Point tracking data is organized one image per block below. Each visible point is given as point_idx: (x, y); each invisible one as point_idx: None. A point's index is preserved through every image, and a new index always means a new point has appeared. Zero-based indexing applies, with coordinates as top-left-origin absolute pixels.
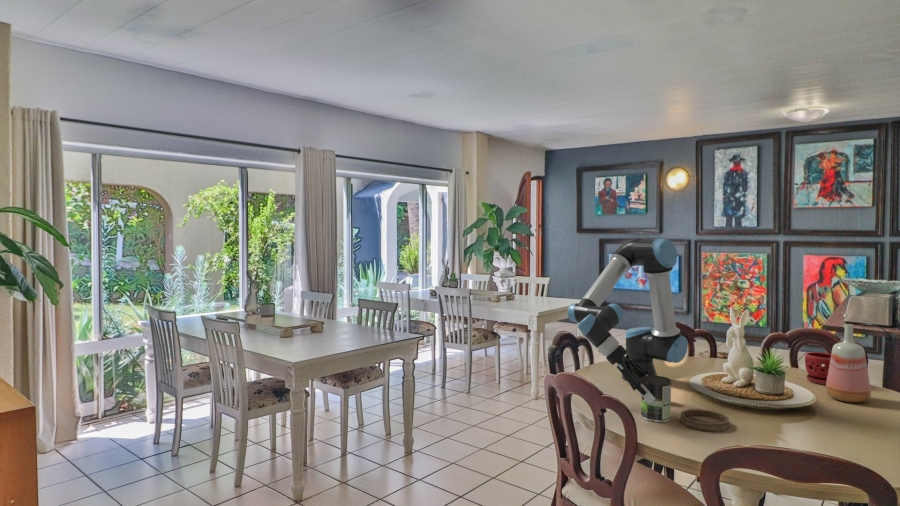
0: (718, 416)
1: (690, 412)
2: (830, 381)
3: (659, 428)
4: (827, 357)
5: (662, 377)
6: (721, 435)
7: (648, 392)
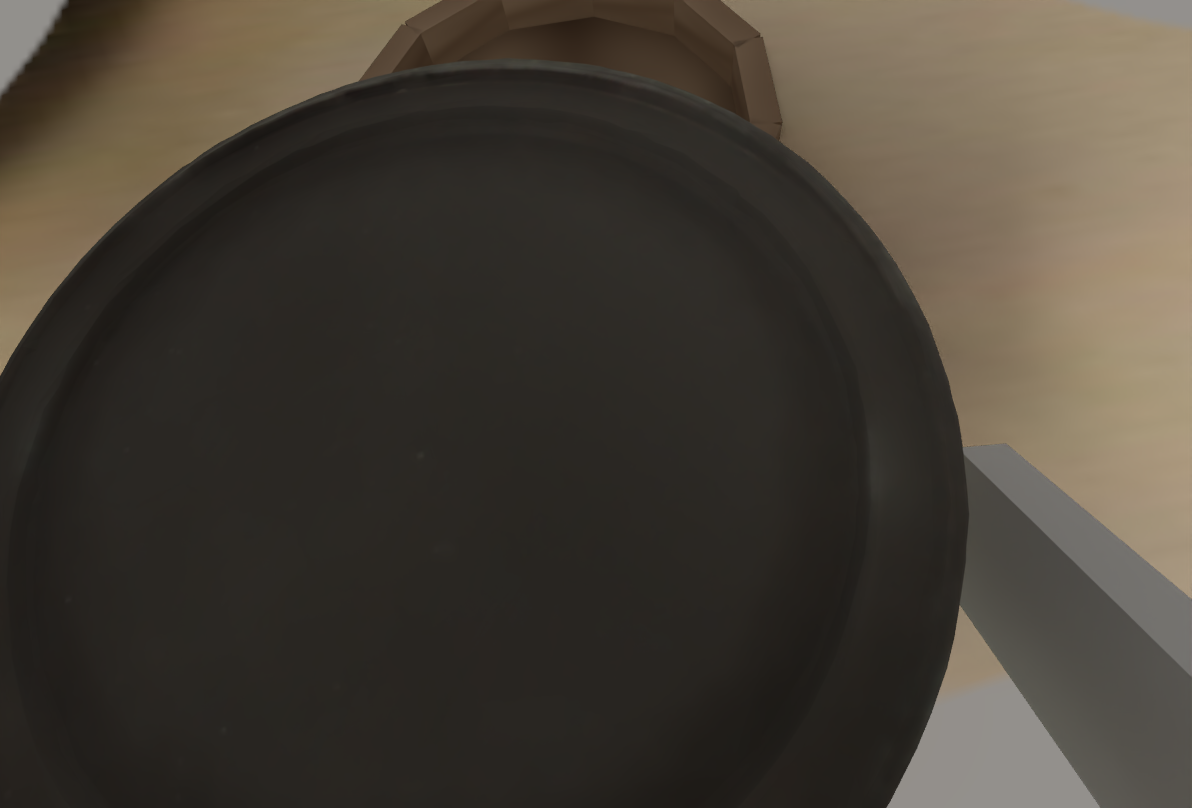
0: (423, 64)
1: None
2: None
3: None
4: None
5: (103, 320)
6: (784, 27)
7: (1140, 571)
